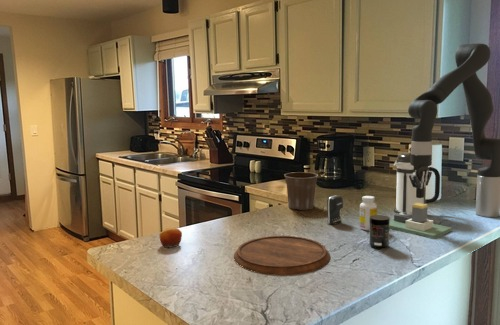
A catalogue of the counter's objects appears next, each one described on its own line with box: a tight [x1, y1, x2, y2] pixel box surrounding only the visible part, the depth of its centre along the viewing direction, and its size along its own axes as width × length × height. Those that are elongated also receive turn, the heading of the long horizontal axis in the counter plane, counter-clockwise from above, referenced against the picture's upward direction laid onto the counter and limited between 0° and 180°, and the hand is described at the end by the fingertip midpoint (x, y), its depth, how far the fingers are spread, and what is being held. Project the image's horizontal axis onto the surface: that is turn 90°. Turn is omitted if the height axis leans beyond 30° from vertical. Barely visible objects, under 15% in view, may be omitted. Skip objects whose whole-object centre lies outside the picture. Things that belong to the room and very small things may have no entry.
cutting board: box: [233, 235, 331, 276], centre depth 143 cm, size 32×32×2 cm
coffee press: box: [393, 147, 441, 217], centre depth 188 cm, size 17×16×30 cm
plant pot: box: [283, 171, 319, 211], centre depth 206 cm, size 16×16×16 cm
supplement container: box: [368, 214, 391, 250], centre depth 149 cm, size 7×7×10 cm
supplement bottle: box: [359, 195, 378, 231], centre depth 169 cm, size 7×7×13 cm
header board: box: [389, 212, 453, 239], centre depth 168 cm, size 14×22×5 cm, turn 40°
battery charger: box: [326, 195, 344, 225], centre depth 178 cm, size 7×4×11 cm, turn 134°
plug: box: [412, 203, 428, 223], centre depth 166 cm, size 4×4×9 cm
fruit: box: [159, 227, 183, 248], centre depth 155 cm, size 8×8×8 cm
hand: (420, 197), depth 164 cm, fingers closed
